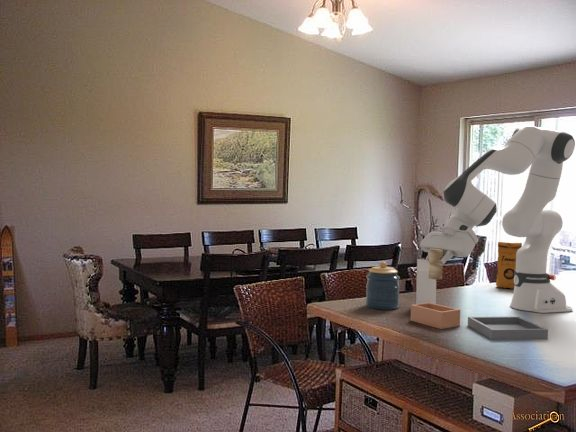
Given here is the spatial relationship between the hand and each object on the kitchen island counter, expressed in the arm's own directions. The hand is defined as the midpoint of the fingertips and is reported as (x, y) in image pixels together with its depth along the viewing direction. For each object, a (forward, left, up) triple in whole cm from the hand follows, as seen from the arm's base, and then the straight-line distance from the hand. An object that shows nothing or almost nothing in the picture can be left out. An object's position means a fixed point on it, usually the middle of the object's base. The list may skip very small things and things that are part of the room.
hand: (434, 261), depth 192 cm
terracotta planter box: (-1, 0, -21) cm, 21 cm away
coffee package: (-63, -70, -21) cm, 96 cm away
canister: (+10, -28, -21) cm, 37 cm away
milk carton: (-6, -24, -21) cm, 33 cm away
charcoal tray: (-20, +13, -21) cm, 32 cm away
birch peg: (-1, 0, -6) cm, 6 cm away
